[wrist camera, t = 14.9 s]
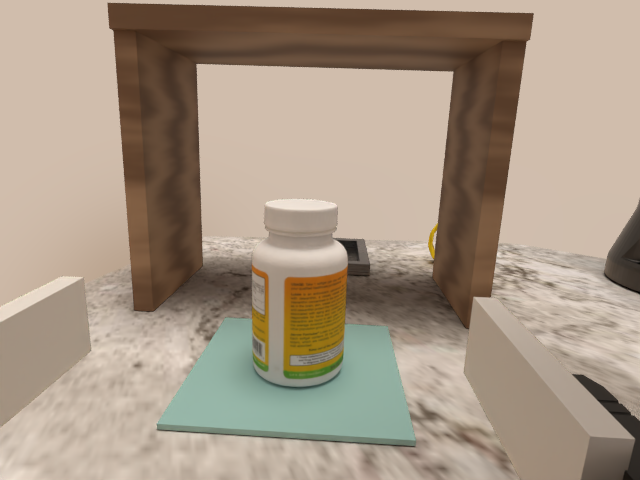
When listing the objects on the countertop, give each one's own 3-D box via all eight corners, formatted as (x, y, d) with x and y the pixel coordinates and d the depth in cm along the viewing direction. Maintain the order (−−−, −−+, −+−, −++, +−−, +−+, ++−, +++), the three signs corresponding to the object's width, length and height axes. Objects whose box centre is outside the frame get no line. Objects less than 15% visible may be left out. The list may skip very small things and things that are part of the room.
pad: (415, 446, 19) (415, 440, 19) (157, 429, 20) (157, 423, 20) (387, 329, 31) (387, 326, 31) (225, 321, 31) (225, 317, 31)
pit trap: (369, 275, 43) (370, 264, 43) (262, 270, 43) (263, 259, 43) (363, 248, 54) (364, 239, 53) (278, 244, 54) (278, 235, 54)
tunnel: (488, 332, 31) (533, 13, 26) (131, 312, 32) (107, 2, 27) (445, 276, 44) (470, 54, 39) (190, 263, 45) (181, 46, 40)
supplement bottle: (355, 354, 26) (364, 201, 24) (319, 401, 22) (326, 216, 19) (281, 336, 29) (283, 194, 26) (233, 374, 24) (230, 205, 21)
